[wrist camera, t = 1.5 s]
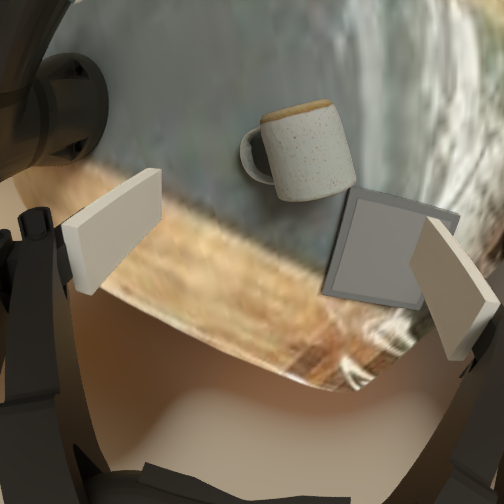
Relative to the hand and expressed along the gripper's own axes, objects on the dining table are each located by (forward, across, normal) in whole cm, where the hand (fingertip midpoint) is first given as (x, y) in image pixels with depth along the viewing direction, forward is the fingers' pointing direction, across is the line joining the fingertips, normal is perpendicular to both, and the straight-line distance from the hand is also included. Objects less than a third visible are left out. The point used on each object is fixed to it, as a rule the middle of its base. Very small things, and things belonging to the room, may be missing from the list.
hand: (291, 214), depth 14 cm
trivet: (+18, +13, -10) cm, 25 cm away
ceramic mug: (+19, 0, 0) cm, 19 cm away
